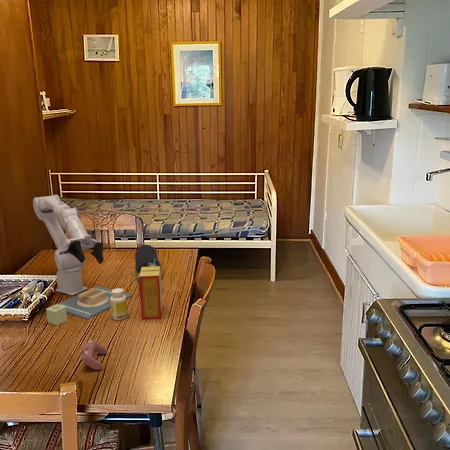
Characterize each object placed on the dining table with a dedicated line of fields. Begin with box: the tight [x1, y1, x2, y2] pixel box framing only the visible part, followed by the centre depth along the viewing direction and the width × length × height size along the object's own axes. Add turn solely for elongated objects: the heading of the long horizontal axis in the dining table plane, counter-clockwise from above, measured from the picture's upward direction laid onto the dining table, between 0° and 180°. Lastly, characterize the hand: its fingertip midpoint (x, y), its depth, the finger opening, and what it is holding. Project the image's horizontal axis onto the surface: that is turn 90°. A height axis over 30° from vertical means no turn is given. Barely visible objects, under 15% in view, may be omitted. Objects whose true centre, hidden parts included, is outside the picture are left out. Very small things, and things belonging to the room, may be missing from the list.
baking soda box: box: [139, 266, 163, 321], centre depth 162 cm, size 10×6×16 cm
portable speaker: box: [134, 244, 162, 273], centre depth 202 cm, size 25×10×10 cm, turn 13°
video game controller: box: [80, 339, 108, 371], centre depth 134 cm, size 10×5×7 cm, turn 5°
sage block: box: [45, 303, 68, 326], centre depth 159 cm, size 4×4×6 cm
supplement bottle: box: [110, 287, 128, 321], centre depth 161 cm, size 5×5×10 cm
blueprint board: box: [58, 285, 132, 320], centre depth 173 cm, size 18×22×4 cm
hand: (92, 261), depth 162 cm, fingers open, 7 cm apart
